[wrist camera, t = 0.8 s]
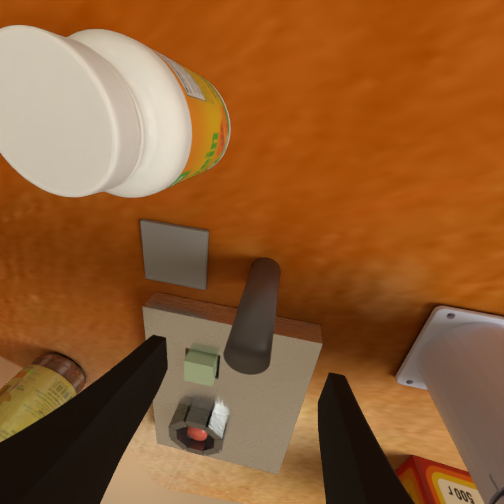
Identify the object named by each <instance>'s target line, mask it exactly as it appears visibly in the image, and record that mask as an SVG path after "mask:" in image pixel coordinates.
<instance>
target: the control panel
mask: <svg viewBox="0 0 504 504" xmlns="http://www.w3.org/2000/svg"><path fill="white" fill-rule="evenodd" d="M142 309H143V318H144V327H145V337H146V340H147V339H148V338H149V337H150V336H152V335H157V336H162V337H166V343H167V360H168V370H167V372H166V374H165V377H164V379H163V381H162V384H161V386H160V388H159V390H158V392H157V394H156V396H155V398H154V400H153V409H154V418H155V427H156V436H157V443H158V444H162V445H166V446H169V447H173V448H177V449H181V450H185V451H188V452H191V453H195V454H199V455H203V456H208V457H212V458H216V459H220V460H224V461H227V462H231V463H235V464H239V465H243V466H247V467H251V468H254V469H258V470H262V471H266V472H270V473H274V474H279V471H280V468H281V465H282V462H283V459H284V456H285V453H286V451H287V448H288V445H289V442H290V439H291V436H292V433H293V430H294V427H295V424H296V421H297V418H298V415H299V412H300V409H301V406H302V403H303V401H304V398H305V395H306V392H307V389H308V386H309V383H310V380H311V377H312V374H313V371H314V368H315V365H316V362H317V359H318V356H319V354H320V351H321V348H322V345H323V342H322V333H321V325H319V324H314V323H309V322H304V321H299V320H294V319H289V318H284V317H279V316H276V317H275V325H274V334H273V343H272V351H271V360H270V365H269V367H268V369H267V370H265V371H264V372H262V373H260V374H256V375H247V374H242V373H239V372H237V371H235V370H233V369H232V368H231V367H230V366H229V365H228V364H227V363H226V362H225V360H224V356H223V353H224V349H225V346H226V343H227V340H228V337H229V334H230V331H231V328H232V325H233V322H234V319H235V316H236V313H237V310H238V308H234V307H229V306H224V305H219V304H214V303H209V302H204V301H199V300H194V299H189V298H184V297H179V296H174V295H169V294H164V293H159V292H155V293H154V294H153V295H152V296H151V297H150V298H149V299H148V301H147V302H146V303H145V304H144V305H143V306H142ZM190 349H193V350H198V351H202V352H207V353H212V354H216V355H220V359H219V360H218V369H217V373H216V376H215V379H214V382H213V385H212V387H211V386H207V385H202V384H198V383H194V382H189V381H185V380H184V360H185V358H186V356H187V354H188V352H189V350H190ZM189 427H193V428H197V429H201V430H204V431H205V432H206V433H208V434H207V438H206V439H205V440H202V441H199V440H195V439H193V438H191V437H190V436H189V435H188V434H187V430H188V428H189Z"/></svg>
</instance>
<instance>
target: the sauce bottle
mask: <svg viewBox="0 0 504 504" xmlns="http://www.w3.org/2000/svg"><path fill="white" fill-rule="evenodd" d="M85 383H86V378H85V375H84V373H83V371H82V370H81V369H80V367H79V366H77V365H76V364H75V363H74V362H73V361H71V360H69V359H67V358H65V357H63V356H61V355H58V354H44V355H42V356H40V357H38V358H37V359H36V360H35V361H33V362H32V364H31V365H28V366H26V367H25V368H23V369H22V370H21V371H20V372H19V373H18V374H17V375H16V376H15V377H13V378H12V379H11V380H10V381H9V382H8V383H7V384H6V385H4V386H3V387H2V388H1V389H0V442H2V441H3V440H5V439H7V438H9V437H11V436H12V435H14V434H16V433H18V432H19V431H21V430H23V429H24V428H26V427H28V426H29V425H31V424H33V423H34V422H36V421H37V420H39V419H41V418H42V417H44V416H46V415H47V414H49V413H50V412H52V411H53V410H55V409H57V408H58V407H60V406H61V405H63V404H64V403H66V402H67V401H69V400H70V399H72V398H73V397H74V396H76V395H77V394H78V393H79V392H80V391H81V390H82V389H83V387H84V385H85Z"/></svg>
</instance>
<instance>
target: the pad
mask: <svg viewBox="0 0 504 504" xmlns="http://www.w3.org/2000/svg"><path fill="white" fill-rule="evenodd" d="M218 360H219V355H216V354H212V353H207V352H202V351H198V350H193V349H190V350H189V352H188V354H187V356H186V358H185V360H184V380H185V381H189V382H194V383H198V384H202V385H207V386H211V387H212V385H213V382H214V379H215V376H216V373H217V369H218Z"/></svg>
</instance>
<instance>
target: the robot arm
mask: <svg viewBox="0 0 504 504" xmlns="http://www.w3.org/2000/svg"><path fill="white" fill-rule="evenodd" d="M449 313H451V314H450V315H448V314H449ZM167 370H168V360H167V343H166V337H162V336H157V335H152V336H150V337H149V338H148V339H147V340H146V341H145V342H143V343H142V344H141V345H140V346H139V347H138V348H136V349H135V350H134V351H133V352H132V353H130V354H129V355H128V356H127V357H126V358H124V359H123V360H122V361H121V362H119V363H118V364H117V365H116V366H114V367H113V368H112V369H111V370H109V371H108V372H107V373H106V374H104V375H103V376H102V377H100V378H99V379H98V380H96V381H95V382H94V383H92V384H91V385H90V386H88V387H87V388H86V389H84V390H83V391H82V392H80V393H79V394H77V395H76V396H74V397H73V398H72V399H70V400H69V401H67V402H66V403H64V404H63V405H61V406H60V407H58V408H57V409H55V410H53V411H52V412H50V413H49V414H47V415H46V416H44V417H42V418H41V419H39V420H37V421H36V422H34V423H33V424H31V425H29V426H28V427H26V428H24V429H23V430H21V431H19V432H18V433H16V434H14V435H12V436H11V437H9V438H7V439H5V440H3V441H2V442H0V504H100V502H101V500H102V498H103V495H104V493H105V491H106V489H107V486H108V485H109V482H110V480H111V478H112V476H113V474H114V472H115V470H116V467H117V465H118V463H119V461H120V459H121V457H122V455H123V453H124V451H125V450H126V448H127V446H128V444H129V442H130V441H131V439H132V437H133V435H134V433H135V432H136V430H137V428H138V426H139V425H140V423H141V421H142V419H143V418H144V416H145V414H146V412H147V410H148V409H149V407H150V405H151V403H152V402H153V400H154V398H155V396H156V394H157V392H158V390H159V388H160V386H161V384H162V381H163V379H164V377H165V374H166V372H167ZM395 378H396V381H397V382H398V383H399V384H402V385H407V386H412V387H416V388H421V389H426V390H428V392H429V394H430V396H431V398H432V400H433V402H434V404H435V406H436V408H437V410H438V412H439V414H440V416H441V418H442V420H443V422H444V424H445V426H446V428H447V430H448V432H449V434H450V436H451V438H452V440H453V442H454V444H455V446H456V448H457V450H458V452H459V454H460V456H461V458H462V460H463V462H464V464H465V466H466V468H467V470H468V472H469V474H470V476H471V478H472V480H473V482H474V484H475V486H476V488H477V490H478V492H479V494H480V496H481V498H482V500H483V502H484V504H504V317H502V316H497V315H491V314H486V313H480V312H475V311H470V310H464V309H459V308H453V307H448V306H438V307H436V308H434V310H433V311H432V313H431V315H430V316H429V318H428V320H427V322H426V323H425V325H424V327H423V329H422V330H421V332H420V334H419V336H418V337H417V339H416V341H415V343H414V344H413V346H412V348H411V350H410V351H409V353H408V355H407V357H406V358H405V360H404V362H403V364H402V365H401V367H400V369H399V371H398V372H397V374H396V376H395ZM318 432H319V442H320V451H321V460H322V469H323V478H324V487H325V495H326V504H415V503H414V502H413V500H412V498H411V497H410V495H409V494H408V492H407V491H406V489H405V488H404V486H403V484H402V483H401V481H400V479H399V478H398V476H397V474H396V473H395V471H394V470H393V468H392V466H391V464H390V463H389V461H388V459H387V457H386V456H385V454H384V452H383V451H382V449H381V447H380V445H379V443H378V442H377V440H376V438H375V436H374V434H373V432H372V430H371V428H370V427H369V425H368V423H367V421H366V419H365V417H364V415H363V413H362V411H361V409H360V407H359V405H358V403H357V401H356V399H355V396H354V394H353V392H352V390H351V388H350V386H349V384H348V381H347V379H346V377H345V376H344V375H339V374H335V373H330V372H329V375H328V377H327V380H326V383H325V385H324V388H323V390H322V393H321V396H320V398H319V401H318Z"/></svg>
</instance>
